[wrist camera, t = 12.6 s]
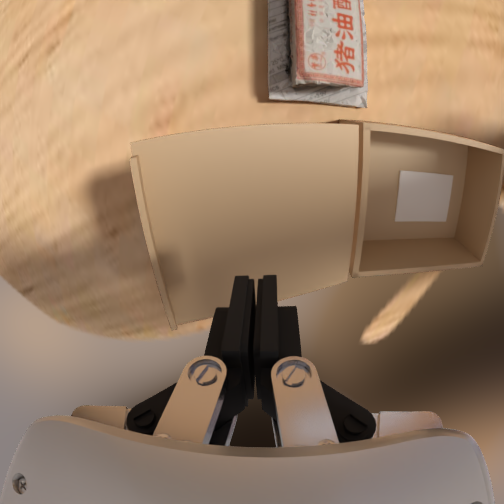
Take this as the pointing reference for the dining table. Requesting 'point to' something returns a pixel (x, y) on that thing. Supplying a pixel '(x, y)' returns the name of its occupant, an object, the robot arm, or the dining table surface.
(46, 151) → the dining table surface
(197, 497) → the robot arm
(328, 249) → the lid
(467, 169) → the mailer box
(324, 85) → the packaged product
